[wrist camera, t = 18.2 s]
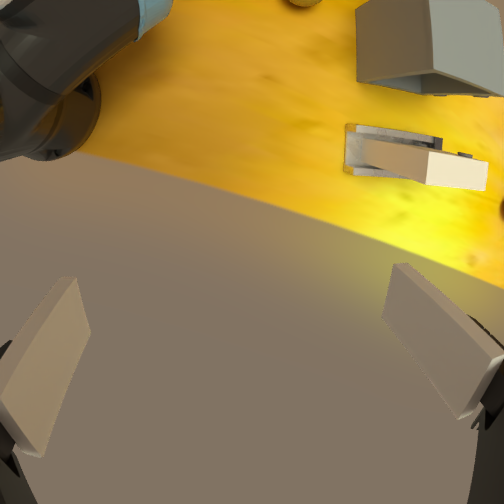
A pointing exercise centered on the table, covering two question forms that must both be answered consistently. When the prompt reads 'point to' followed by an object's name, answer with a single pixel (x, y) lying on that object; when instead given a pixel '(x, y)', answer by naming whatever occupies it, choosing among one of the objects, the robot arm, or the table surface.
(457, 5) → the cabinet
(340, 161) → the table surface
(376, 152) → the door
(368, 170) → the drawer
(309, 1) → the lemon
